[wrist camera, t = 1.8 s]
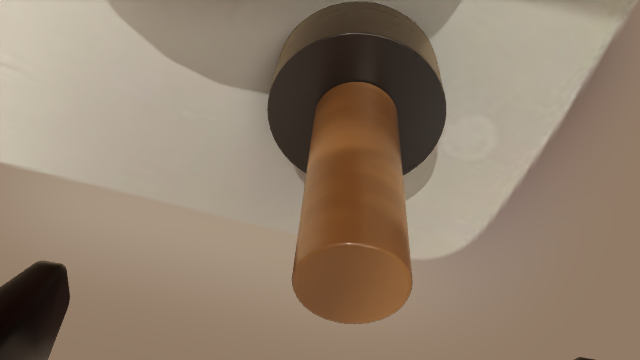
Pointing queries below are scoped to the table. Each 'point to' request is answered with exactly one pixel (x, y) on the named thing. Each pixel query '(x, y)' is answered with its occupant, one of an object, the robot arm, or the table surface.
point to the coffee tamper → (355, 152)
